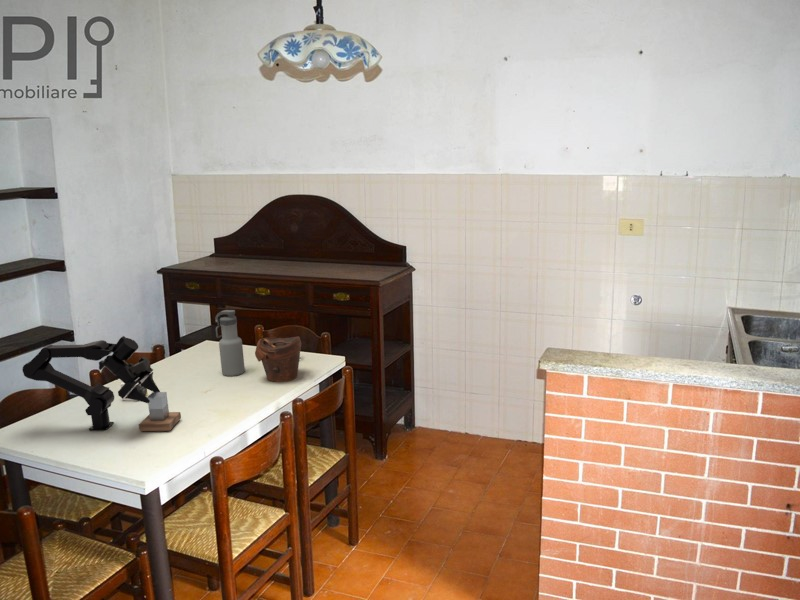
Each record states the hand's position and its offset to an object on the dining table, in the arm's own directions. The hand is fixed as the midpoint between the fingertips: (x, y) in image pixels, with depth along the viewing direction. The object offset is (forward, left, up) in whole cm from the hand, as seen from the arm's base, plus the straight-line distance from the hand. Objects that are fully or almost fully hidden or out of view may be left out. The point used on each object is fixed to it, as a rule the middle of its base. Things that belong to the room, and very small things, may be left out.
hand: (154, 397), depth 253 cm
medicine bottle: (+29, +21, -11) cm, 37 cm away
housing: (0, -1, -8) cm, 8 cm away
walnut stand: (0, -1, -11) cm, 11 cm away
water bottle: (+57, -11, -11) cm, 59 cm away
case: (+50, -34, -11) cm, 62 cm away
